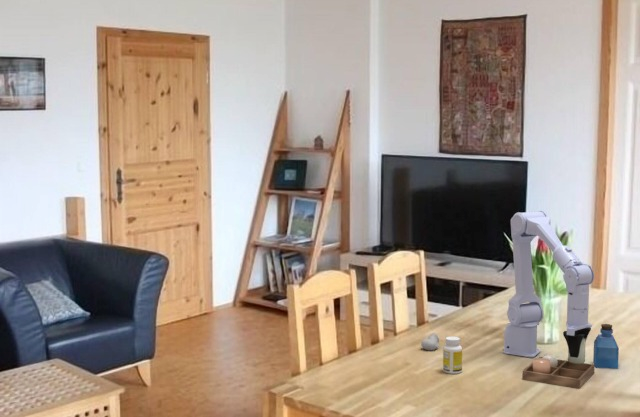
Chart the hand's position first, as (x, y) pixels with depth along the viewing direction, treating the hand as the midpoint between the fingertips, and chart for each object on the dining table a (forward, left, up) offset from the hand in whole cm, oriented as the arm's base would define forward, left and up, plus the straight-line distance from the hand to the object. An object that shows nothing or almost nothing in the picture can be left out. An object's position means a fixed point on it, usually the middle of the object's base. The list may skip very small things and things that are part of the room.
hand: (576, 354), depth 243 cm
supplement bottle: (-31, -15, -6) cm, 35 cm away
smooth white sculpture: (-46, +4, -6) cm, 47 cm away
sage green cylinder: (0, 0, -2) cm, 2 cm away
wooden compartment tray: (-4, -4, -6) cm, 8 cm away
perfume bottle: (+5, +13, -6) cm, 15 cm away
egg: (-8, 0, -6) cm, 10 cm away
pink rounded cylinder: (-8, -8, -6) cm, 12 cm away
